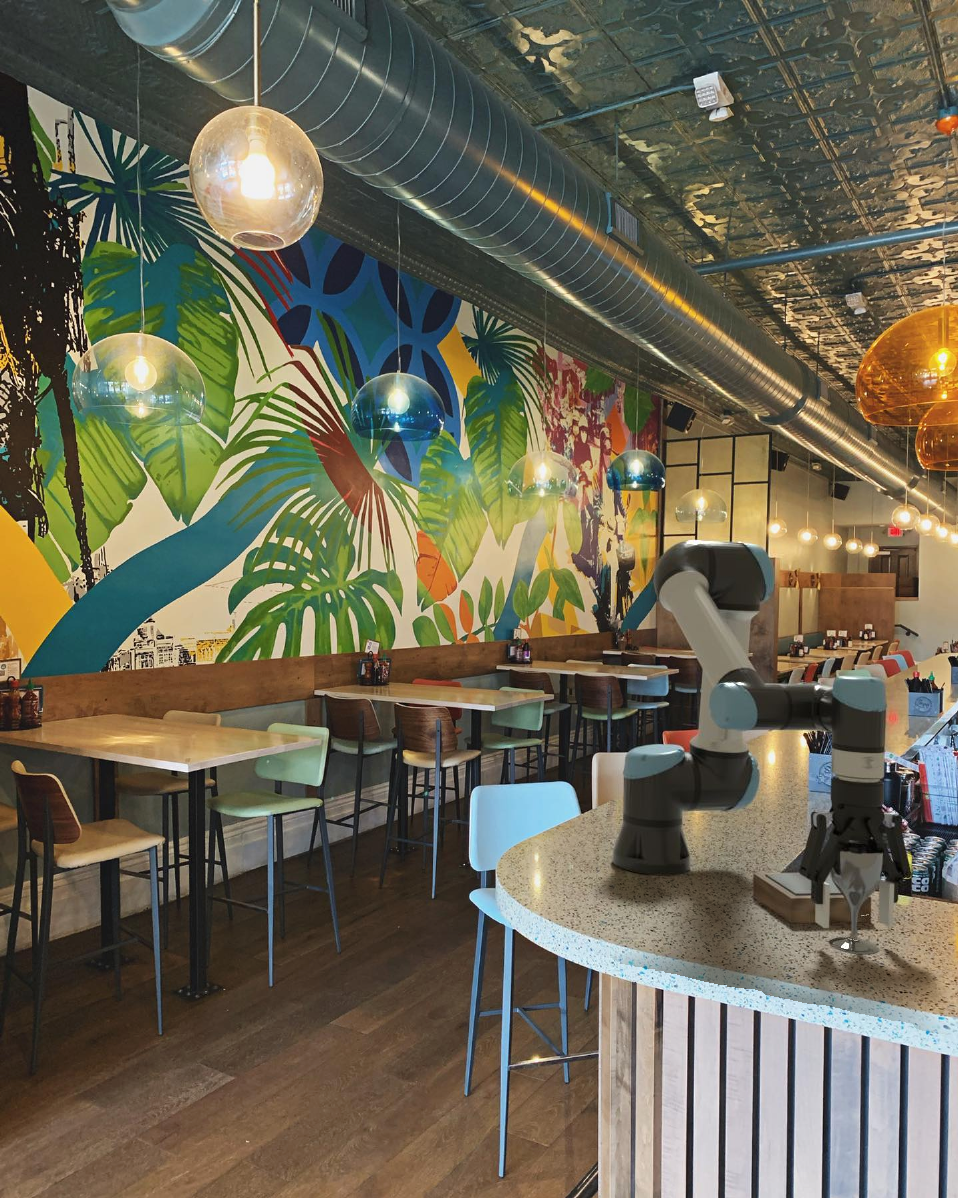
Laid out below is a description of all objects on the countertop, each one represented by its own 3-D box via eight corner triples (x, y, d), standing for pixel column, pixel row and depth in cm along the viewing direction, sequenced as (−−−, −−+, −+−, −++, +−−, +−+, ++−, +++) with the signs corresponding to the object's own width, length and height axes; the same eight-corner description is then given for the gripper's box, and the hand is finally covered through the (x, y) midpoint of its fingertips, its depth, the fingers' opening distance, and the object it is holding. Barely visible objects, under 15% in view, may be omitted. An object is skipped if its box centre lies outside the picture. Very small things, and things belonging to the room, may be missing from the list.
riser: (790, 923, 145) (791, 896, 145) (752, 895, 159) (753, 871, 159) (870, 921, 147) (871, 895, 147) (826, 894, 161) (826, 870, 161)
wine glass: (867, 936, 140) (869, 840, 140) (892, 956, 132) (894, 854, 132) (817, 935, 140) (819, 839, 140) (839, 955, 132) (841, 853, 132)
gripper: (800, 782, 131) (797, 934, 131) (940, 782, 134) (937, 931, 134) (776, 772, 138) (773, 917, 138) (909, 773, 142) (906, 914, 141)
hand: (854, 924), depth 136 cm, fingers open, 10 cm apart
